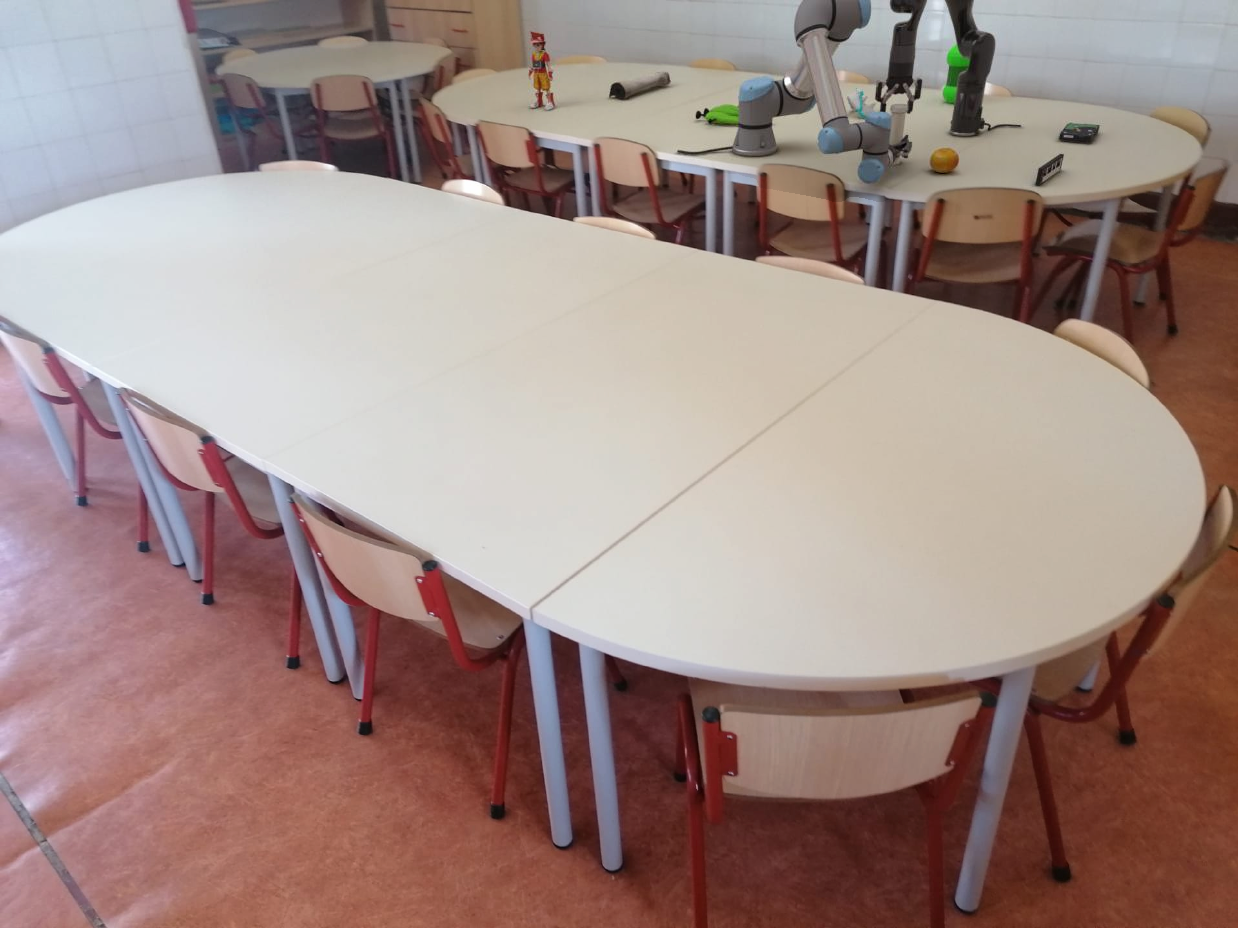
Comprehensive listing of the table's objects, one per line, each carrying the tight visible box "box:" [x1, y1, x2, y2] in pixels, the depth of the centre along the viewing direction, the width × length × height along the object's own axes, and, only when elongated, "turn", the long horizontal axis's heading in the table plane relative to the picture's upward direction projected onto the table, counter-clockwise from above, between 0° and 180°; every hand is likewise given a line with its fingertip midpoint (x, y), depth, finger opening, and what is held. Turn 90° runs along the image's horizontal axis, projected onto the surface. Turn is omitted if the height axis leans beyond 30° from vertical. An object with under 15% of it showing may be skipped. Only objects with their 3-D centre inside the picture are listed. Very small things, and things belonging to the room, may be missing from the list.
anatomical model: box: [846, 87, 877, 119], centre depth 344 cm, size 15×10×10 cm
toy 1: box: [527, 31, 556, 111], centre depth 374 cm, size 12×9×30 cm
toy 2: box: [695, 103, 739, 125], centre depth 347 cm, size 28×5×30 cm
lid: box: [889, 103, 908, 113], centre depth 286 cm, size 5×5×2 cm
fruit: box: [929, 147, 960, 174], centre depth 283 cm, size 8×8×8 cm
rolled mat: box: [608, 71, 672, 101], centre depth 395 cm, size 30×9×10 cm
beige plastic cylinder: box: [889, 111, 907, 166], centre depth 290 cm, size 4×4×17 cm
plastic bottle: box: [942, 43, 970, 104], centre depth 348 cm, size 10×10×25 cm
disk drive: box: [1058, 122, 1101, 144], centre depth 307 cm, size 10×3×15 cm
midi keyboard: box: [1035, 153, 1065, 186], centre depth 273 cm, size 18×1×5 cm, turn 138°
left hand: (898, 138), depth 296 cm, fingers closed on beige plastic cylinder, 4 cm apart
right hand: (895, 114), depth 287 cm, fingers open, 7 cm apart
